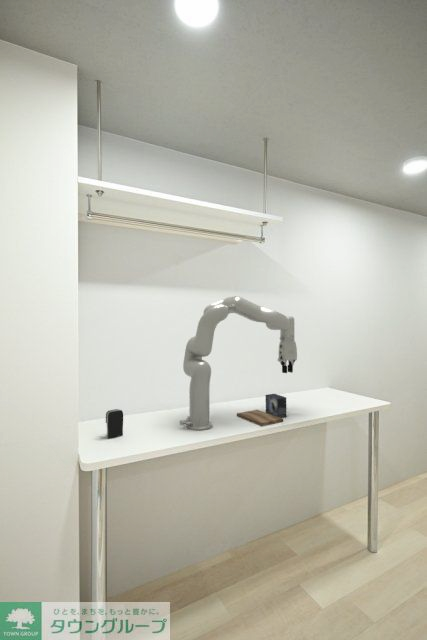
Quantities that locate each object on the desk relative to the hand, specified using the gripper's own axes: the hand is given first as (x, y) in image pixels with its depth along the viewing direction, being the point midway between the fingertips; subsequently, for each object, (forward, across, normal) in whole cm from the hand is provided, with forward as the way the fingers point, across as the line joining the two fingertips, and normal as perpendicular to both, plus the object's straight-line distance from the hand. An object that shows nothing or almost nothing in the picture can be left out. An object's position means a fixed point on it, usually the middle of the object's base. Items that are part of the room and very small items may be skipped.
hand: (287, 372), depth 176 cm
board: (+22, -20, 0) cm, 30 cm away
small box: (+23, -9, 0) cm, 24 cm away
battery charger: (+22, -90, +14) cm, 94 cm away
